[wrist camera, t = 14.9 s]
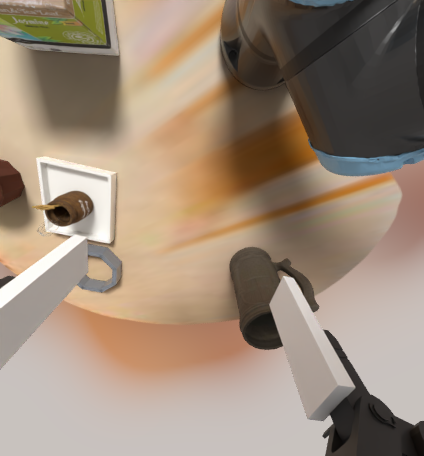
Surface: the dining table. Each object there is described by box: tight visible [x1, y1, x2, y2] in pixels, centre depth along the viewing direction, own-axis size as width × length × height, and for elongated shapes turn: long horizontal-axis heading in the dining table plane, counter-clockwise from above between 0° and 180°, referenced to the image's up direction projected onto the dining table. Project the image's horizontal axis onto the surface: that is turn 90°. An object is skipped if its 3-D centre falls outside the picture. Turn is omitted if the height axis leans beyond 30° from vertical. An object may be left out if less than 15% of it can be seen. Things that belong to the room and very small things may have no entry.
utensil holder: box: [32, 191, 93, 236], centre depth 38 cm, size 6×6×12 cm
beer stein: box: [230, 247, 319, 350], centre depth 42 cm, size 15×11×20 cm
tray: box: [36, 157, 117, 244], centre depth 43 cm, size 16×14×2 cm
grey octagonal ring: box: [77, 244, 122, 292], centre depth 50 cm, size 12×12×3 cm
